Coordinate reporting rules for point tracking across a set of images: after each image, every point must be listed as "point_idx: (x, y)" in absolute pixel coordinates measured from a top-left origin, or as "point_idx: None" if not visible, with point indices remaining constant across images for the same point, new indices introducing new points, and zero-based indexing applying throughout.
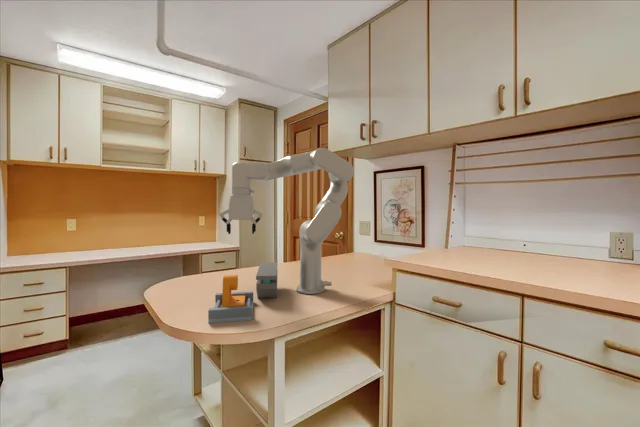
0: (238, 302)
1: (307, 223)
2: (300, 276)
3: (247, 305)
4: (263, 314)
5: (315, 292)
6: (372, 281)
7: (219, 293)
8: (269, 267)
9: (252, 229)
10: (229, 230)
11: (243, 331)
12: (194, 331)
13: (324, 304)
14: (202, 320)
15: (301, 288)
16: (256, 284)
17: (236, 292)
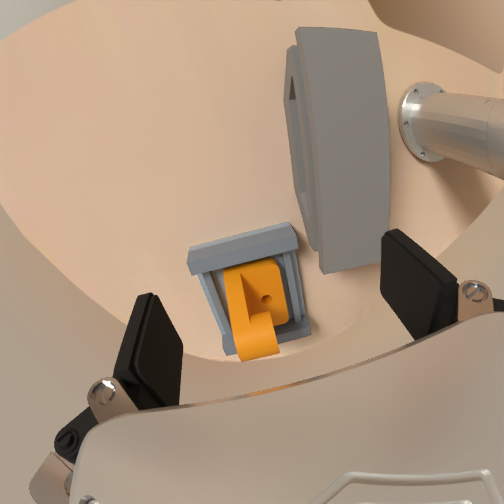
0: (273, 310)
1: None
2: (435, 132)
3: (292, 301)
4: (323, 293)
5: (439, 160)
6: None
7: (197, 262)
8: (360, 132)
9: (399, 315)
10: (178, 370)
11: (296, 352)
12: (217, 360)
13: (438, 228)
14: (207, 329)
15: (415, 136)
16: (314, 250)
17: (245, 248)
